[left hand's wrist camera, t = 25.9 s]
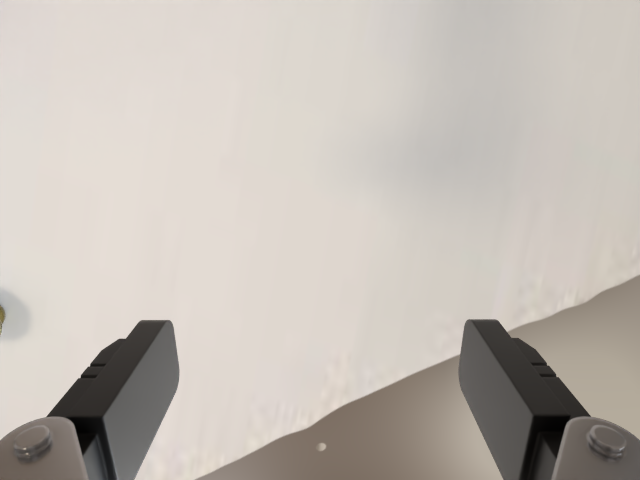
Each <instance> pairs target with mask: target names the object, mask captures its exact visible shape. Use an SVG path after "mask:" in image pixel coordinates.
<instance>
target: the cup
mask: <svg viewBox="0 0 640 480" xmlns="http://www.w3.org/2000/svg"><path fill="white" fill-rule="evenodd" d="M4 320H5V311H4V309H3V308H2V307H1V306H0V335H1V331H2V323H3V322H4Z"/></svg>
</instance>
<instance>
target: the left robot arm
mask: <svg viewBox="0 0 640 480" xmlns="http://www.w3.org/2000/svg"><path fill="white" fill-rule="evenodd" d="M178 382H179V363H178V356H177V349H176V342H175V335H174V328H173V324H172V322H171V321H170V320H141V321H140V322H139V323H138V324H137V325H136V326H135V328H134V329H133V330H132V332H131V333H130V334H129V335H128V337H127V338H126V339H118V340H117V341H115V342H114V343H112V344H111V345H109V346H108V347H106V348H105V349H103V350H102V351H101V352H100V353H99V354H98V356H97V357H96V358H95V359H94V360H93V362H92V363H91V364H90V367H88V368H87V369H86V370H85V371H84V372H83V374H82V375H81V378H78V380H77V381H76V382H75V383H74V384H73V386H72V387H71V388H70V389H69V390H68V392H67V393H66V394H65V395H64V396H63V398H62V399H61V400H60V401H59V402H58V404H57V405H56V406H55V407H54V408H53V410H52V411H51V412H50V413H49V414H48V415H47V417H45V418H41V419H37V420H34V421H31V422H29V423H26V424H24V425H22V426H20V427H18V428H16V429H15V430H13V431H12V432H10V433H9V434H7V435H6V436H5V437H4V438H2V439H1V440H0V480H134V479H135V477H136V475H137V473H138V471H139V468H140V466H141V464H142V462H143V460H144V458H145V456H146V454H147V452H148V450H149V447H150V445H151V443H152V441H153V439H154V437H155V435H156V433H157V431H158V428H159V426H160V424H161V422H162V420H163V418H164V416H165V414H166V412H167V410H168V407H169V405H170V403H171V401H172V399H173V397H174V395H175V393H176V390H177V387H178ZM459 382H460V386H461V390H462V392H463V394H464V396H465V398H466V401H467V403H468V405H469V407H470V409H471V411H472V413H473V416H474V418H475V420H476V422H477V424H478V426H479V428H480V431H481V433H482V435H483V437H484V439H485V441H486V443H487V445H488V448H489V450H490V452H491V454H492V456H493V458H494V460H495V462H496V465H497V467H498V469H499V471H500V473H501V475H502V477H503V479H504V480H640V440H639V439H637V438H636V437H635V436H634V435H632V434H631V433H630V432H628V431H627V430H625V429H624V428H622V427H620V426H618V425H616V424H614V423H611V422H609V421H606V420H603V419H599V418H595V417H591V416H590V415H589V414H588V412H587V411H586V410H585V409H584V408H583V406H582V405H581V404H580V403H579V402H578V400H577V399H576V398H575V397H574V396H573V394H572V393H571V392H570V391H569V389H568V388H567V387H566V386H565V385H564V383H563V382H562V381H561V380H560V379H559V377H556V374H555V372H554V371H553V370H552V369H551V368H550V366H547V363H546V362H545V360H544V359H543V358H542V357H541V356H540V354H539V353H538V352H537V351H536V350H535V349H534V348H532V347H531V346H529V345H528V344H526V343H525V342H523V341H522V340H520V339H519V338H511V337H510V335H509V334H508V333H507V332H506V330H505V329H504V328H503V326H502V325H501V324H500V322H499V321H498V320H467V321H466V323H465V326H464V333H463V340H462V347H461V354H460V362H459Z"/></svg>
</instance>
